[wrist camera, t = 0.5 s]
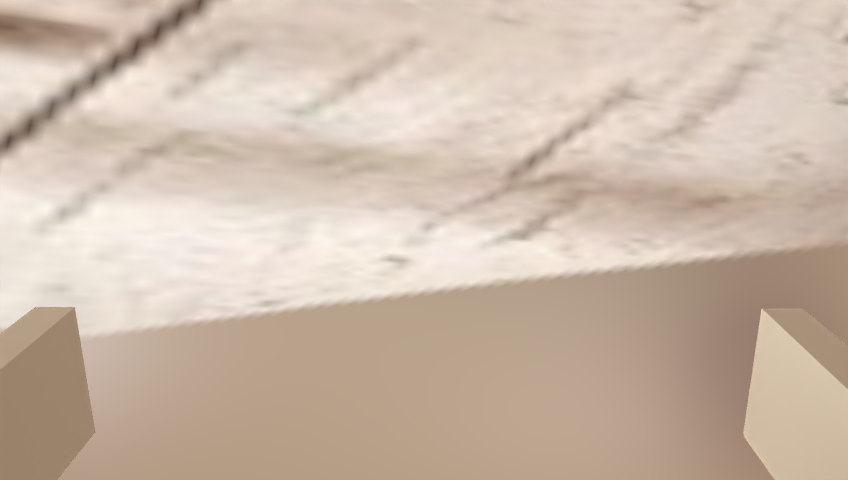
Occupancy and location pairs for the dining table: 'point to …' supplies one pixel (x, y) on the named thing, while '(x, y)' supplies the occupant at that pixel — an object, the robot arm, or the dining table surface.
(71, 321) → the robot arm
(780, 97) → the dining table surface
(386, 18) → the dining table surface
